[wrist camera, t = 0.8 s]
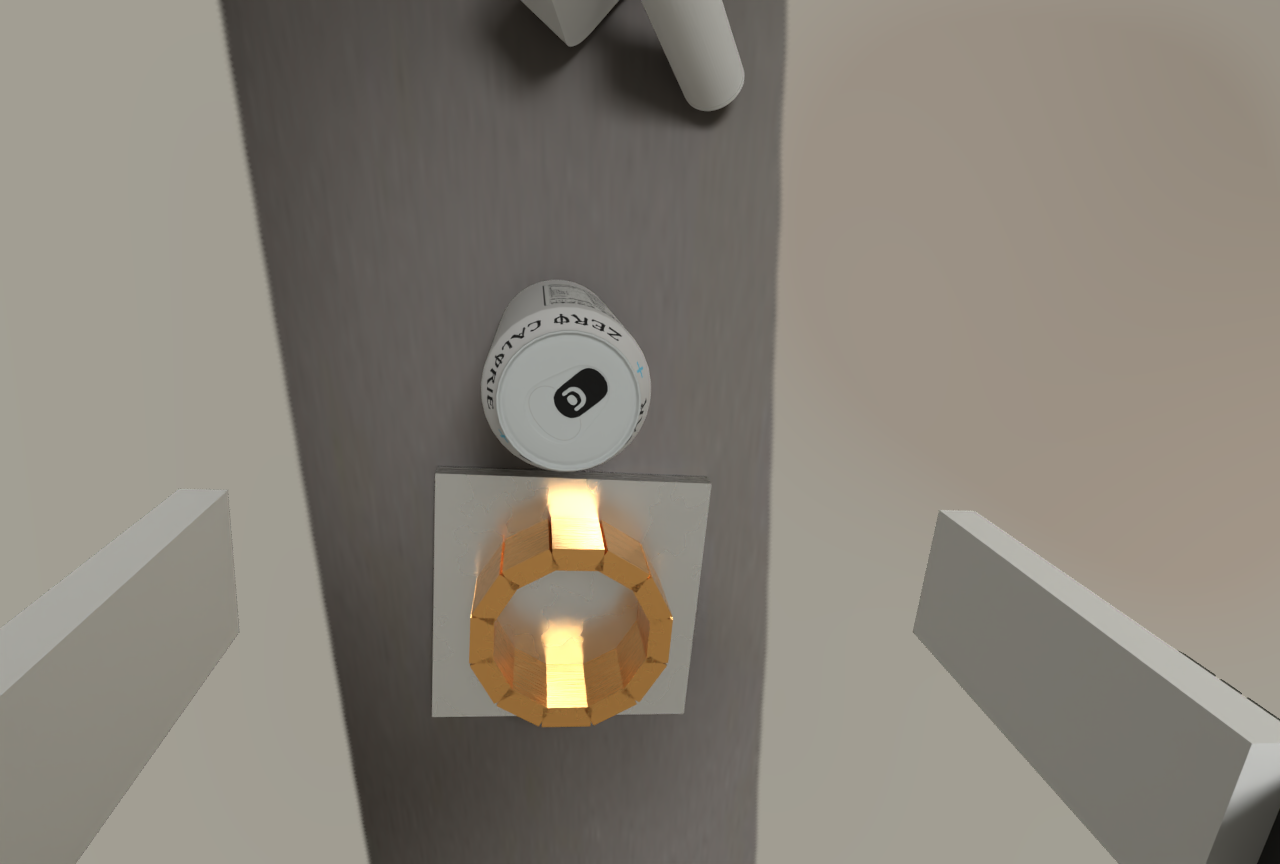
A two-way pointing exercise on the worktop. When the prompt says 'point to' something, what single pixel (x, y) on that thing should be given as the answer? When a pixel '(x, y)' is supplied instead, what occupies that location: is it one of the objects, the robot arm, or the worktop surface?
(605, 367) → the energy drink can
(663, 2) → the wall hook
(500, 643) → the keeper
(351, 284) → the worktop surface
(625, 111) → the worktop surface
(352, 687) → the worktop surface
